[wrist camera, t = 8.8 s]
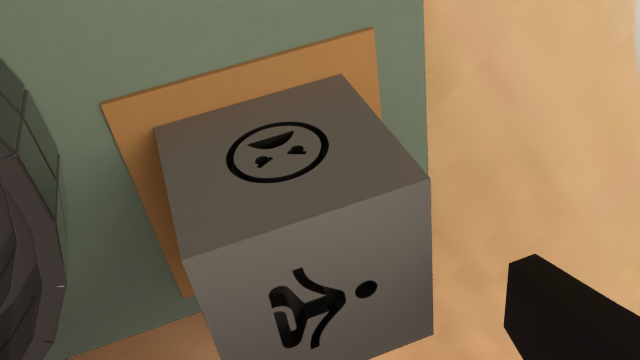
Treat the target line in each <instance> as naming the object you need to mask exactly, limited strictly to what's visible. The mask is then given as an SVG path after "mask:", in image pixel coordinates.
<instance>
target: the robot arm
mask: <svg viewBox="0 0 640 360" xmlns="http://www.w3.org/2000/svg"><path fill="white" fill-rule="evenodd" d="M504 328H505V330H506V331H507V333H508V335H509V336H510V338H511V340H512V341H513V343H514V345H515V347H516V348H517V350H518V352H519V353H520V355H521V356H522V358H523V360H640V316H638V315H636V314H635V313H633V312H631V311H629V310H628V309H626V308H624V307H622V306H621V305H619V304H617V303H615V302H614V301H612V300H610V299H609V298H607V297H605V296H604V295H602V294H600V293H599V292H597V291H595V290H594V289H592V288H591V287H589V286H587V285H586V284H584V283H582V282H581V281H579V280H577V279H576V278H574V277H573V276H571V275H569V274H568V273H566V272H564V271H563V270H561V269H560V268H558V267H556V266H555V265H553V264H551V263H550V262H548V261H546V260H545V259H543V258H541V257H540V256H538V255H536V254H533V255H530V256H528V257H525V258H522V259H520V260H517V261H514V262H512V263H509V270H508V282H507V294H506V305H505V317H504Z"/></svg>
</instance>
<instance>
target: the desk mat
mask: <svg viewBox="0 0 640 360" xmlns="http://www.w3.org/2000/svg"><path fill="white" fill-rule="evenodd" d="M0 59H1V60H2V61H3V62H4V63H5V64H6V66H7V67H8V68H9V69H10V70H11V71H12V72H13V73H14V74H15V76H16V77H17V78H18V79H19V80H20V81H21V82H22V83H23V84H24V87H25V89H26V90H27V91H28V92H29V94H30V96H31V97H32V99H33V101H34V103H35V105H36V107H37V109H38V111H39V113H40V115H41V117H42V119H43V121H44V123H45V125H46V127H47V129H48V131H49V133H50V135H51V137H52V139H53V141H54V142H55V144H56V146H57V148H58V153H59V155H60V159H61V165H62V171H63V178H64V184H65V190H66V197H67V203H68V260H67V289H66V293H65V298H64V303H63V308H62V312H61V317H60V322H59V327H58V331H57V336H56V339H55V342H54V344H53V345H52V347H51V348H50V350H49V352H48V353H47V355H46V356H45V358H44V360H65V359H68V358H71V357H73V356H76V355H79V354H82V353H85V352H88V351H90V350H93V349H96V348H99V347H102V346H105V345H107V344H110V343H113V342H116V341H119V340H122V339H125V338H127V337H130V336H133V335H136V334H139V333H142V332H144V331H147V330H150V329H153V328H156V327H159V326H161V325H164V324H167V323H170V322H173V321H176V320H179V319H181V318H184V317H187V316H190V315H193V314H196V313H198V312H201V311H202V310H201V308H200V305H199V303H198V300H197V298H196V295H195V293H194V290H193V288H192V285H191V283H190V281H189V278H188V276H187V273H186V271H185V268H184V266H183V263H182V261H181V256H180V251H179V246H178V242H177V237H176V232H175V227H174V222H173V218H172V213H171V208H170V203H169V199H168V194H167V189H166V184H165V180H164V175H163V170H162V165H161V161H160V156H159V151H158V146H157V141H156V137H155V132H154V127H157V126H160V125H164V124H167V123H171V122H174V121H178V120H181V119H185V118H188V117H192V116H195V115H199V114H202V113H206V112H209V111H213V110H216V109H220V108H223V107H227V106H230V105H234V104H237V103H241V102H244V101H248V100H251V99H255V98H258V97H262V96H265V95H269V94H272V93H276V92H279V91H283V90H286V89H290V88H293V87H296V86H300V85H303V84H307V83H310V82H314V81H317V80H321V79H324V78H328V77H331V76H335V75H338V74H342V75H343V76H344V77H345V78H346V79H347V81H348V82H349V83H350V84H351V85H352V87H353V88H354V89H355V90H356V91H357V92H358V94H359V95H360V96H361V97H362V98H363V99H364V101H365V102H366V103H367V104H368V105H369V107H370V108H371V109H372V110H373V111H374V112H375V114H376V115H377V116H378V117H379V118H380V120H381V121H382V122H383V123H384V124H385V125H386V127H387V128H388V129H389V130H390V131H391V133H392V134H393V135H394V136H395V137H396V138H397V140H398V141H399V142H400V143H401V144H402V146H403V147H404V148H405V149H406V150H407V151H408V153H409V154H410V155H411V156H412V157H413V159H414V160H415V161H416V162H417V163H418V164H419V166H420V167H421V168H422V169H423V170H424V172H425V173H426V174H427V175H428V151H427V117H426V83H425V48H424V14H423V0H0Z"/></svg>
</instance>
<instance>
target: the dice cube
mask: <svg viewBox="0 0 640 360" xmlns="http://www.w3.org/2000/svg"><path fill="white" fill-rule="evenodd" d="M154 132H155V137H156V141H157V146H158V151H159V156H160V161H161V165H162V170H163V175H164V180H165V184H166V189H167V194H168V199H169V203H170V208H171V213H172V218H173V222H174V227H175V232H176V237H177V242H178V246H179V251H180V256H181V261H182V263H183V266H184V268H185V271H186V273H187V276H188V278H189V281H190V283H191V285H192V288H193V290H194V293H195V295H196V298H197V300H198V303H199V305H200V308H201V310H202V313H203V315H204V318H205V320H206V323H207V325H208V328H209V330H210V333H211V335H212V338H213V340H214V343H215V345H216V348H217V350H218V353H219V355H220V358H221V360H368V359H371V358H373V357H376V356H379V355H381V354H384V353H387V352H389V351H392V350H394V349H397V348H400V347H402V346H405V345H407V344H410V343H413V342H415V341H418V340H420V339H423V338H426V337H428V336H431V335H434V333H433V284H432V235H431V186H430V177H429V176H428V175H427V174H426V173H425V172H424V170H423V169H422V168H421V167H420V166H419V164H418V163H417V162H416V161H415V160H414V159H413V157H412V156H411V155H410V154H409V153H408V151H407V150H406V149H405V148H404V147H403V146H402V144H401V143H400V142H399V141H398V140H397V138H396V137H395V136H394V135H393V134H392V133H391V131H390V130H389V129H388V128H387V127H386V125H385V124H384V123H383V122H382V121H381V120H380V118H379V117H378V116H377V115H376V114H375V112H374V111H373V110H372V109H371V108H370V107H369V105H368V104H367V103H366V102H365V101H364V99H363V98H362V97H361V96H360V95H359V94H358V92H357V91H356V90H355V89H354V88H353V87H352V85H351V84H350V83H349V82H348V81H347V79H346V78H345V77H344V76H343V75H342V74H338V75H335V76H331V77H328V78H324V79H321V80H317V81H314V82H310V83H307V84H303V85H300V86H296V87H293V88H290V89H286V90H283V91H279V92H276V93H272V94H269V95H265V96H262V97H258V98H255V99H251V100H248V101H244V102H241V103H237V104H234V105H230V106H227V107H223V108H220V109H216V110H213V111H209V112H206V113H202V114H199V115H195V116H192V117H188V118H185V119H181V120H178V121H174V122H171V123H167V124H164V125H160V126H157V127H154Z"/></svg>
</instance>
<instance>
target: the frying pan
mask: <svg viewBox="0 0 640 360" xmlns="http://www.w3.org/2000/svg"><path fill="white" fill-rule="evenodd" d="M67 260H68V203H67V197H66V190H65V184H64V178H63V171H62V165H61V159H60V155H59V153H58V148H57V146H56V144H55V142H54V141H53V139H52V137H51V135H50V133H49V131H48V129H47V127H46V125H45V123H44V121H43V119H42V117H41V115H40V113H39V111H38V109H37V107H36V105H35V103H34V101H33V99H32V97H31V96H30V94H29V92H28V91H27V90H26V89H25V87H24V84H23V83H22V82H21V81H20V80H19V79H18V78H17V77H16V76H15V74H14V73H13V72H12V71H11V70H10V69H9V68H8V67H7V66H6V64H5V63H4V62H3V61H2V60H1V59H0V360H44V358H45V356H46V355H47V353H48V352H49V350H50V348H51V347H52V345H53V344H54V342H55V339H56V336H57V331H58V327H59V322H60V317H61V312H62V308H63V303H64V298H65V293H66V289H67Z"/></svg>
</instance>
